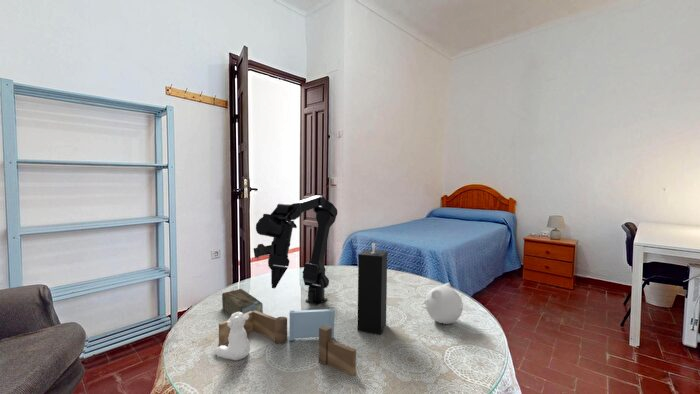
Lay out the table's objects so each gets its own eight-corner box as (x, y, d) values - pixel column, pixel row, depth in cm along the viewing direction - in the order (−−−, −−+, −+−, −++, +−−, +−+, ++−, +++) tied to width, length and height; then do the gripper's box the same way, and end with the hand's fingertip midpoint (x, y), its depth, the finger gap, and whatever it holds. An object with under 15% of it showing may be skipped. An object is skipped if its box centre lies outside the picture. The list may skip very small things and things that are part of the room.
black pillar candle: (386, 324, 101) (387, 241, 100) (381, 335, 94) (382, 245, 93) (363, 320, 104) (365, 239, 103) (357, 331, 96) (358, 243, 95)
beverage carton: (241, 326, 99) (241, 306, 99) (221, 308, 113) (221, 291, 113) (263, 319, 105) (263, 300, 104) (241, 303, 119) (241, 287, 118)
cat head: (453, 336, 93) (454, 297, 93) (416, 323, 102) (416, 287, 102) (471, 321, 105) (472, 286, 104) (436, 310, 113) (437, 278, 113)
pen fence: (257, 326, 99) (257, 299, 99) (360, 369, 76) (360, 334, 76) (218, 343, 88) (218, 313, 87) (326, 400, 65) (326, 359, 65)
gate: (289, 340, 89) (289, 313, 89) (289, 337, 91) (289, 310, 91) (333, 338, 91) (334, 311, 91) (333, 335, 93) (333, 308, 92)
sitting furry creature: (246, 342, 89) (246, 302, 88) (261, 354, 83) (261, 311, 82) (213, 354, 82) (213, 311, 82) (226, 368, 76) (226, 321, 76)
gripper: (258, 236, 109) (249, 280, 106) (256, 234, 92) (245, 287, 89) (289, 241, 112) (281, 284, 109) (293, 239, 94) (284, 291, 91)
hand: (273, 286), depth 99 cm, fingers open, 9 cm apart
